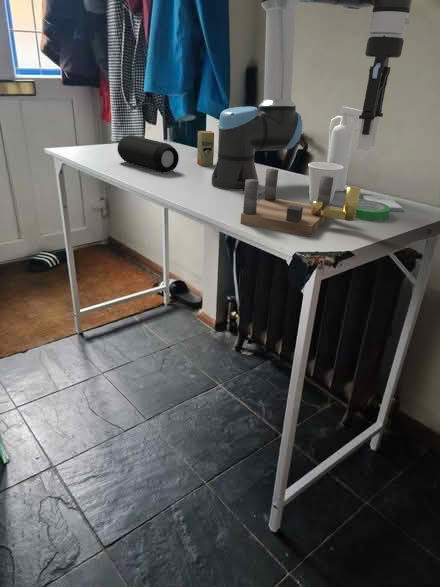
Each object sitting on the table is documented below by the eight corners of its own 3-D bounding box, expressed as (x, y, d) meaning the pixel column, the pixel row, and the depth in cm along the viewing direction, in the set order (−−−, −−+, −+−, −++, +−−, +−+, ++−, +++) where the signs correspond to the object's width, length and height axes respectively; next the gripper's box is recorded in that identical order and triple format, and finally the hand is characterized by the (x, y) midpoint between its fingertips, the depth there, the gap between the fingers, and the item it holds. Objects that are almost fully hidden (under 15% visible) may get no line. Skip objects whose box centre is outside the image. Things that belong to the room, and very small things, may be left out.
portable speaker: (180, 172, 159) (180, 143, 155) (158, 176, 153) (158, 145, 148) (137, 160, 175) (136, 133, 170) (116, 163, 168) (114, 135, 164)
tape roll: (365, 223, 117) (367, 213, 116) (338, 210, 126) (340, 201, 125) (396, 219, 121) (399, 209, 120) (369, 207, 130) (370, 198, 129)
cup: (313, 197, 137) (318, 160, 132) (343, 204, 131) (349, 166, 126) (296, 203, 130) (301, 164, 125) (327, 211, 125) (333, 171, 119)
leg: (309, 214, 112) (314, 183, 108) (313, 211, 114) (317, 180, 111) (353, 221, 108) (359, 190, 104) (355, 218, 110) (361, 187, 107)
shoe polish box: (197, 163, 173) (197, 131, 168) (209, 163, 175) (210, 130, 169) (200, 166, 169) (201, 132, 164) (213, 165, 171) (214, 132, 165)
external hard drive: (374, 212, 128) (362, 200, 139) (402, 213, 128) (388, 201, 139) (375, 206, 127) (363, 194, 138) (404, 207, 127) (389, 195, 138)
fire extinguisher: (324, 183, 153) (336, 104, 142) (353, 191, 145) (368, 108, 134) (311, 185, 149) (322, 105, 138) (340, 194, 141) (355, 109, 130)
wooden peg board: (265, 205, 126) (268, 168, 122) (328, 216, 120) (334, 177, 115) (240, 223, 112) (243, 181, 107) (310, 236, 105) (317, 192, 101)
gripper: (399, 33, 88) (375, 155, 98) (408, 39, 103) (386, 143, 114) (360, 33, 90) (341, 151, 101) (374, 38, 106) (357, 140, 117)
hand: (365, 146), depth 107 cm, fingers open, 6 cm apart
